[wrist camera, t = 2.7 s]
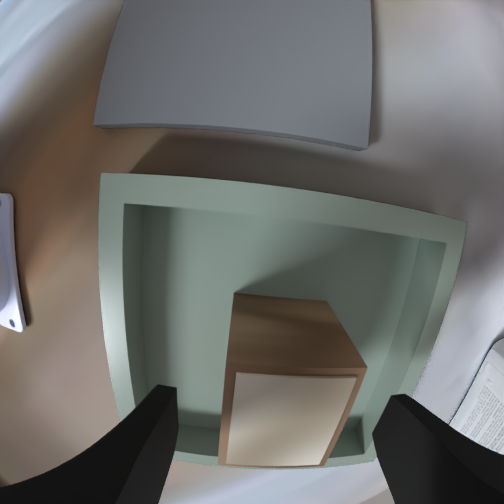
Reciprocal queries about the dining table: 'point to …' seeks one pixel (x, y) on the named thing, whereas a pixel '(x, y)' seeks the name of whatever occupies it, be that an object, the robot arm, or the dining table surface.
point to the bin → (263, 290)
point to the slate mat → (242, 68)
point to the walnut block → (286, 383)
